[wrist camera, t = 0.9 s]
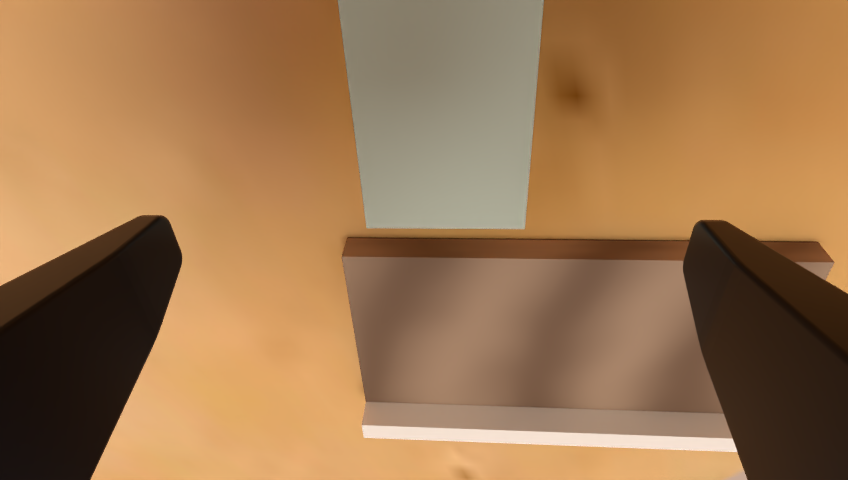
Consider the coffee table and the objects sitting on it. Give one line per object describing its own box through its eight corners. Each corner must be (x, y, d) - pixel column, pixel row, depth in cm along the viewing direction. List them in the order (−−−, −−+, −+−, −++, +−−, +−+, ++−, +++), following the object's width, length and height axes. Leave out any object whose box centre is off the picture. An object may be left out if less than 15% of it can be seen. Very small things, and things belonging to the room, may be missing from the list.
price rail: (745, 393, 26) (767, 439, 24) (737, 407, 27) (758, 454, 25) (369, 381, 28) (361, 425, 26) (371, 396, 29) (364, 439, 27)
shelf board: (818, 242, 21) (834, 262, 20) (738, 406, 27) (748, 427, 26) (347, 238, 22) (341, 256, 21) (371, 394, 28) (368, 414, 28)
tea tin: (527, -82, 15) (547, -47, 11) (513, 145, 20) (524, 229, 16) (361, -76, 16) (325, -40, 12) (383, 146, 20) (361, 228, 16)
